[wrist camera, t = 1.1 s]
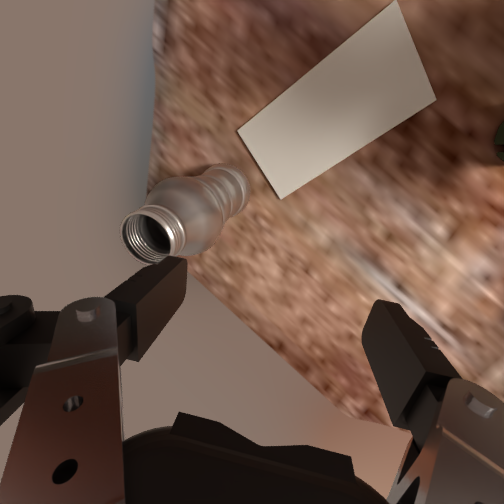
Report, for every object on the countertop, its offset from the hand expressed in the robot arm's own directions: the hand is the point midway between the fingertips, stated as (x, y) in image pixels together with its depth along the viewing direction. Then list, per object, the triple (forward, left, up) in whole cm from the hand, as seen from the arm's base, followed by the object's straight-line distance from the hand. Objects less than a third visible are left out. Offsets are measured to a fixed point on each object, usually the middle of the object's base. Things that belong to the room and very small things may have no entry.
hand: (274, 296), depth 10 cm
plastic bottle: (+7, -5, -24) cm, 26 cm away
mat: (-8, -5, -24) cm, 26 cm away
